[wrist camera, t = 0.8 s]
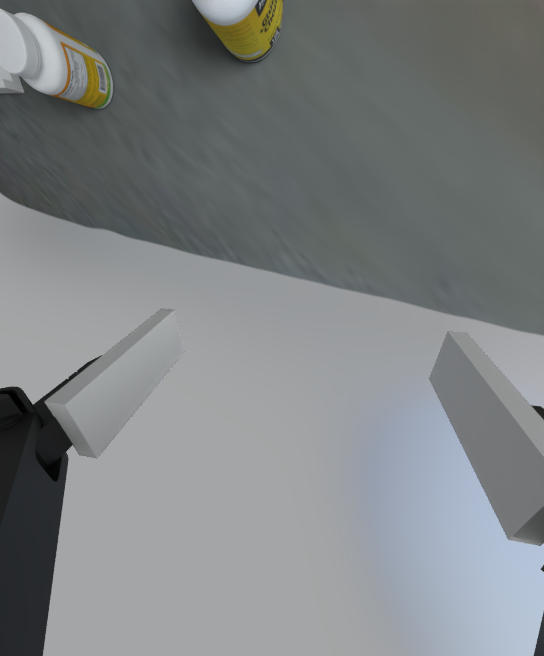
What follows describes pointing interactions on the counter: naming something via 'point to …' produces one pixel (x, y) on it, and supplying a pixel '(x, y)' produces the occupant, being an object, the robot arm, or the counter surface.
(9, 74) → the tray
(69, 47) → the supplement bottle
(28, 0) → the counter surface
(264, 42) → the pill bottle
